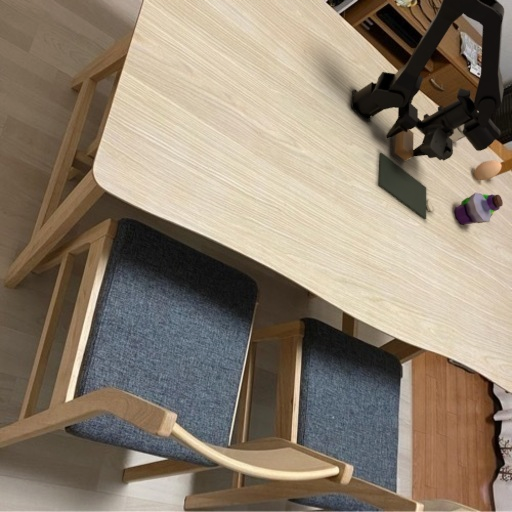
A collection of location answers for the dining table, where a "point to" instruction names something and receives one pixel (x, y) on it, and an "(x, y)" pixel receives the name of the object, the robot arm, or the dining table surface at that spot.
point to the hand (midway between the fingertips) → (398, 146)
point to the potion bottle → (477, 208)
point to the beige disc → (429, 205)
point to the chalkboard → (402, 186)
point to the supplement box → (505, 166)
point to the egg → (487, 170)
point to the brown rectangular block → (402, 146)
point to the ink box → (457, 134)
